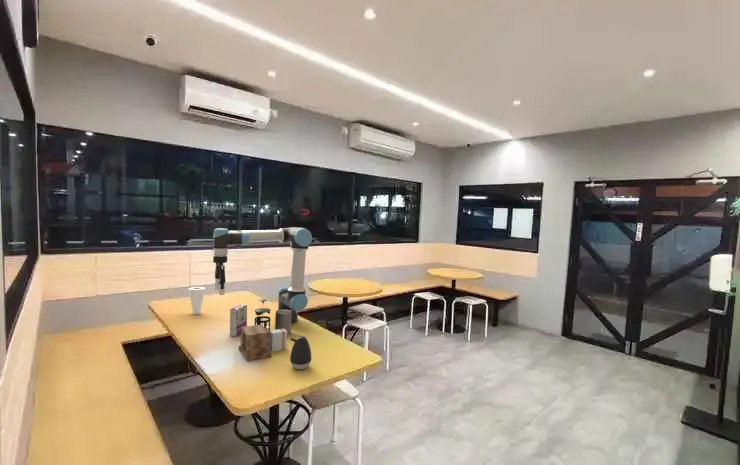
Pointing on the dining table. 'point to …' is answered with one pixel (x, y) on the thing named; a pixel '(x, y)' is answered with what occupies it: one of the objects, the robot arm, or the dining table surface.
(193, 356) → the dining table surface
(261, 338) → the wooden slotted holder
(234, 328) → the candy bar box
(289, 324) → the pillar candle
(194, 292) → the cup
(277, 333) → the white carton
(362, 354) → the dining table surface
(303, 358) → the pump dispenser
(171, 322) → the dining table surface
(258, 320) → the french press
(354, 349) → the dining table surface
